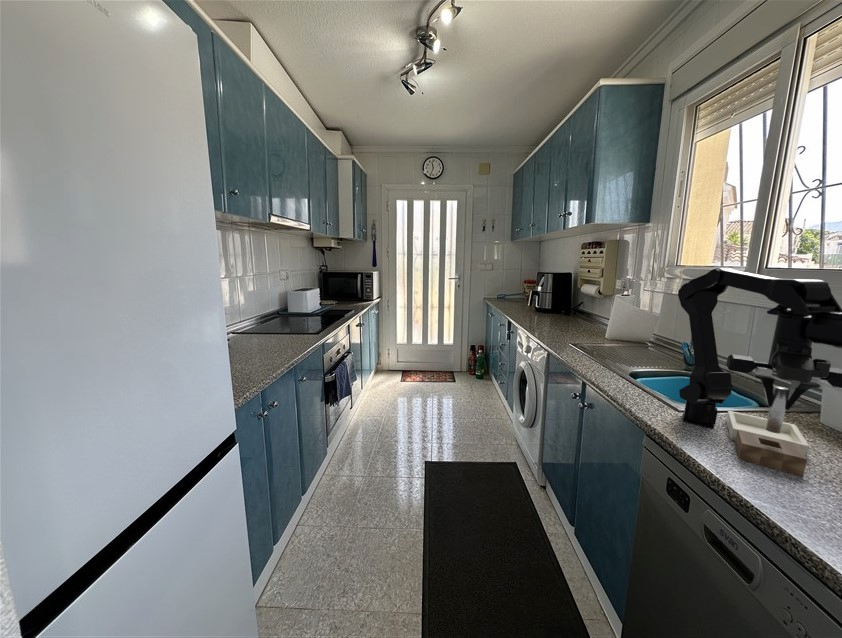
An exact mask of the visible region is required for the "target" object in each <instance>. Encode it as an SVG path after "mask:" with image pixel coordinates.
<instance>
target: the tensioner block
mask: <svg viewBox="0 0 842 638" xmlns="http://www.w3.org/2000/svg"><path fill="white" fill-rule="evenodd" d="M734 441H735V440H734ZM734 446H735V449H736V454H737V457H738V460H740V461H743V462H747V463H751V464H755V465H758V466H762V467H766V468H770V469H773V470H776V471H780V472H785V473H788V474H791V475H796V476H799V477H802V478H803V477H804V475H805V471H806V466H807V462H808V457H807V458H806V457H805V455H804V453H803V452H802V450H801V448H800V447H799V445H798V443H794V442H790V441H786V440H782V439H777V438H773V437H769V436H764V435H760V434H756V433H752V432H747V431H743V430H739V429H738V431H737V436H736V441H735V442H734Z"/></svg>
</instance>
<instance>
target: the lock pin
mask: <svg viewBox="0 0 842 638" xmlns="http://www.w3.org/2000/svg"><path fill="white" fill-rule="evenodd" d="M789 392H790V388H789V387H788V388H787V387H784V386H778V385H777V386H776V385H773V400H772V404H771V406H769V409H768V415H767V418H766V419H767V423H766V428H765V429H766V430H767V431H770V432H773V433H781V429H782V424H783V422H784V420H785V416H786V415H785V413H786V411H787V410H786V406H787V401H788V397H789Z"/></svg>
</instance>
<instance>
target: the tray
mask: <svg viewBox="0 0 842 638" xmlns="http://www.w3.org/2000/svg"><path fill="white" fill-rule="evenodd" d="M767 419H768V418H765V417H760V416H756V415H751V414H747V413H742V412H737V411H731V410H727V415H726V420H725V421H726V425H727V429H728V433H729V437H730V440H732V441H736V436H737V431H738V429H739V430H743V431H747V432H752V433H756V434H760V435H764V436H769V437H773V438H777V439H782V440H786V441H790V442H794V443H798V445H799V447H800V448H801V450H802V452H803V453H804V455H805V457H806V458H807V459H808V455H809V454H808V453H809V450H810V445H809V443H808V442H807V440H806V439H805V437H804V436H803V434H802V433H801V431H800V430H799V428H798V427H797V425H796V424H793V423H788V422H786V421H783V424H782V429H781V433H773V432H770V431H767V430H766V429H765V428H766V423H767Z"/></svg>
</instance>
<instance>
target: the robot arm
mask: <svg viewBox="0 0 842 638" xmlns="http://www.w3.org/2000/svg"><path fill="white" fill-rule="evenodd" d="M729 287H730V288H731V287H732V288H734V289H739V290H743V291H747V292H752V293H756V294H759V295H762V296H764V297H766V298H767V299H768V301H770V302H773V303H775V304H777V306H775V307H773V308H770V309H768V310H767V311H766V314H767V315H772V316H777V317H776V322H775V328H774V332H773V333H774V334H773V337H772V342H771V346H770V347H771V348H770V352H769V358H768V361H767V362H763V361H755V360H754V359H753V357H752V356H747V355H740V354H730V355H728V356H727V360H726V367H727V369H728V370H729V372H726V371H724V370H723V369H722V368H721V367H720V364H719V358H718V349H717V343H716V336H715V329H714V322H713V321H714V320H713V312H714V310H715V308H716V307H717V305H718V297H719V296H720V295H722V294H724V293H726V292H727V289H728V288H729ZM677 292H678V293H677V296H678V299H679V303H680V307H682V309H683V310H684V311H685V313H686V314H687V315H688V318H689V319H688V320H689V326H690V328H689V329H690V334H691V335H690V336H691V342H692V344H691V345H692V351H693V359H694V368H693V370H692V371H691V373H690V375H689V384H687V385H686V386H684V387H682V388H680V389H679V392H678V393H679V397H680V399H683V400H684V401H685V404H684V410H683V413H682V423H683V422H684V423H687V424H692V425H695V426H701V427H704V428H708V429H714V425H716V423H717V416H718V411H719V410H718V408H717V404H719V405H720V404H721V405H722V404H724V402H725V401H726V399H727V398H729V396H731V395H732V389H734V386H733V383H732V375H731V372H730V371H732V372H738V373H743V374H749V373H752V374H753V376H754V377H755V378H756V379H760V382H761V384H762V388H763V392H764V395H765V400H766V403H767V406H768V407H770V406H771V404H772V400H773V390H774V384H775V377H774V376H773V374H774V373H775V374H776V377H777V378H779V379H781V380H785V381H788V380H790V381H791V384H790V387H789V389H790V392H789V397H788V401H787V406H786V411H787V410H790V409H791V408H792V406H793V405H794V404H795V403H796V402H797V401H798V399H799V398H800V397H801V396H802V395H803V394H805V393H806V392H807V391H809V390H811V389H812V388H813V389H814V388H816V389H820V388H821V384H819V382H821V381H826V382H827V383H829V385H830V386H831V387H834V388H839V389H842V368H837V367H831V365H832V363H831V360H829V359H822V358H813V355H812V351H813V347H812V345H813V344H816V345H820V346H826V347H830V348H835V349H840V350H842V307H841V306H840V304H839V303H838V301H837V300H836V298H835V297H834V295H833V293H832V290H831V287H830V286H829V282H827V281H825V280H822V279H805V278H804V279H803V278H794V279H793V278H777V277H772V276H767V275H762V274H757V273H753V272H752V273H751V272H746V271H741V270H736V269H734V268H731V267H729V268H728V267H721V268H720V267H719V268H713V269H710V270H709V271H708V272H706V273H705V274H703V275H700V276H698V277H696V278H693V279H691V280H689V281H688V282H685V283H683V284H682V285H681V287H680V288H679V289H678V291H677Z"/></svg>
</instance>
